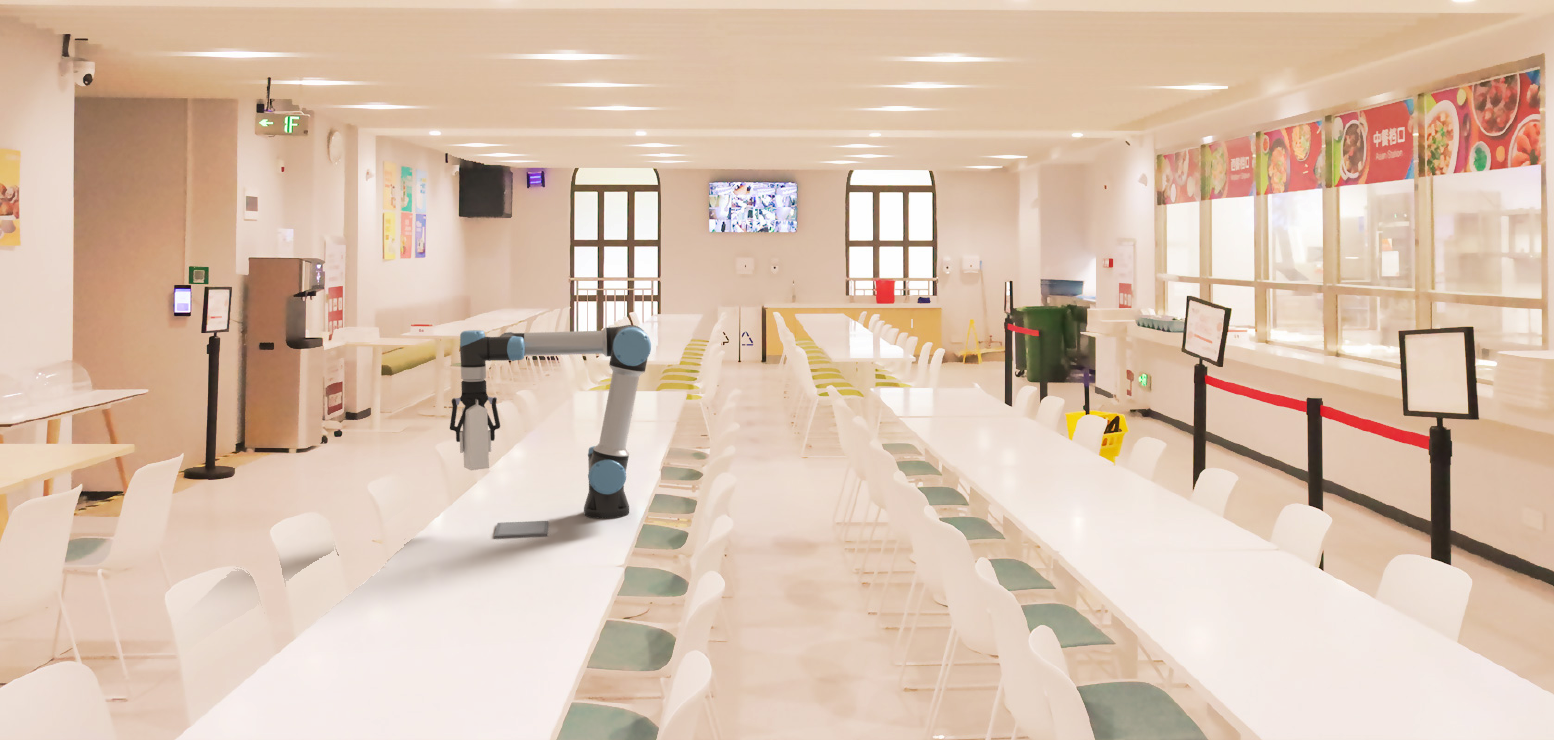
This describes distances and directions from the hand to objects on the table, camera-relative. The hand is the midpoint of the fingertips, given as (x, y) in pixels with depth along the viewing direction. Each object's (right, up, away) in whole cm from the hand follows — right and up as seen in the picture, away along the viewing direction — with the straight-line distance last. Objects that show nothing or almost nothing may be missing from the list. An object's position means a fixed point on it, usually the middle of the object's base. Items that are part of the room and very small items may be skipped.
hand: (476, 451), depth 342 cm
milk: (0, -5, +1) cm, 5 cm away
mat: (+14, -25, +1) cm, 29 cm away
